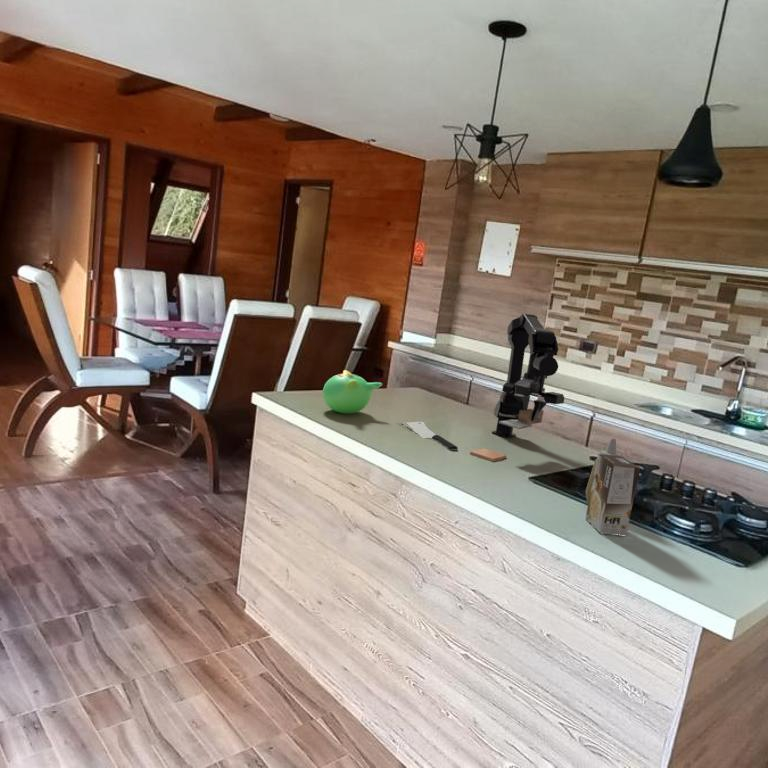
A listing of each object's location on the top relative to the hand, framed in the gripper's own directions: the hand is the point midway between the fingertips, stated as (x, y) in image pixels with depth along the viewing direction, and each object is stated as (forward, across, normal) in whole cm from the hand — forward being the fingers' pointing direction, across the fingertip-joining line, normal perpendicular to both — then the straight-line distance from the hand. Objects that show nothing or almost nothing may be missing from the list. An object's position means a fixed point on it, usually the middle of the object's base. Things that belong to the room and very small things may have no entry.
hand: (528, 419), depth 198 cm
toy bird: (+11, -60, -19) cm, 64 cm away
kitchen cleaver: (+12, -27, -14) cm, 33 cm away
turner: (+1, 0, -2) cm, 3 cm away
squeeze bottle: (+12, +36, -26) cm, 46 cm away
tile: (+11, -4, -14) cm, 18 cm away
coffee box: (+12, +42, -37) cm, 58 cm away
